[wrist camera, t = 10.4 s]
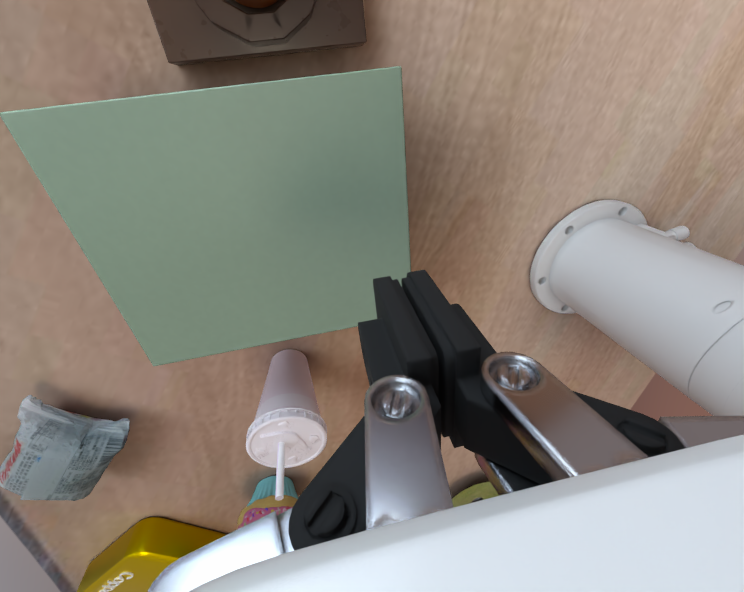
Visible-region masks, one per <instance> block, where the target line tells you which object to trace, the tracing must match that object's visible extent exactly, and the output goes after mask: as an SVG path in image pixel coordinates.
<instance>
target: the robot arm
mask: <svg viewBox="0 0 744 592" xmlns="http://www.w3.org/2000/svg"><path fill="white" fill-rule="evenodd" d="M689 235H690V231H689V229H688V228H687V227H685V226H678V227H675V228H672V229H669V230H667V231H666V232H664V231H661V230H658V229H655V228H653V227H650V226H647V221H646V219H645V217H644V215H643V213H642V212H641V211H640V210H639V209H638V208H637V207H635V206H633V205H631V204H629V203H626V202H622V201H619V200H601V201H595V202H593V203H590V204H587V205H584V206H582V207H581V208H579V209H577V210H575V211H573V212H572V213H570V214H569V215H568V216H566V217H565V218H564V219H562V220H561V221H560V222H559V223H558V224H557V225H556V226H555V227H554V228H553V229H552V230H551V231H550V232H549V234H548V235H547V236H546V237H545V239H544V240H543V242H542V243H541V245H540V247H539V248H538V250H537V252H536V255H535V257H534V260H533V262H532V267H531V271H530V285H531V290H532V292H533V294H534V296H535V298H536V299H537V300H538V301H539V302H540V303H541V304H542V305H543V306H545V307H546V308H547V309H549V310H551V311H553V312H556V313H561V314H569V313H578V314H579V315H581V316H582V317H583V318H585V319H586V320H587V321H589V322H590V323H591V324H593V325H594V326H595V327H596V328H598V329H599V330H600V331H602V332H603V333H604V334H606V335H607V336H608V337H610V338H611V339H612V340H614V341H615V342H616V343H618V344H619V345H620V346H621V347H623V348H624V349H625V350H627V351H628V352H629V353H631V354H632V355H633V356H635V357H636V358H637V359H639V360H640V361H641V362H643V363H644V364H645V365H646V366H648V367H649V368H650V369H652V370H653V371H654V372H656V373H657V374H658V375H660V376H661V377H662V378H664V379H665V380H666V381H668V382H669V383H670V384H672V385H673V386H674V387H675V388H677V389H678V390H679V391H681V392H682V393H683V394H685V395H686V396H687V397H689V398H690V399H691V400H692V401H694V402H695V403H697V404H698V405H699V406H701V407H702V408H703V409H705V410H706V411H708V412H709V413H710V414H712V415H713V416H685V417H660V418H659V420H658V421H656V420H655V419H653V418H650V417H648V416H646V415H643V414H641V413H638V412H635V411H632V410H629V409H626V408H623V407H620V406H617V405H614V404H611V403H608V402H604V401H601V400H598V399H595V398H592V397H589V396H586V395H583V394H580V393H577V392H574V391H571V390H570V389H569V388H568V387H567V386H565V385H564V384H563V383H562V382H561V381H560V380H558V379H557V378H556V377H555V376H554V375H553V374H551V373H550V372H549V371H548V370H547V369H546V368H544V367H543V366H542V365H541V364H540V363H538V362H537V361H536V360H534V359H533V358H531V357H528V356H526V355H524V354H520V353H515V352H500V353H496V351H495V350H494V349H493V348H492V346H491V345H490V344H489V342H488V341H487V340H486V338H485V337H484V336H483V335H482V333H481V332H480V331H479V329H478V328H477V327H476V326H475V324H474V323H473V322H472V320H471V319H470V318H469V316H468V315H467V314H466V313H465V311H464V310H463V309H462V307H461V306H460V305H459V304H452V305H450V304H449V302H448V301H447V299H446V298H445V297H444V295H443V294H442V293H441V291H440V290H439V288H438V287H437V286H436V284H435V283H434V282H433V280H432V279H431V277H430V276H429V275H428V273H427V272H426V271H425V270H420V271H414V272H409V273H407V277H406V278H402V280H401V284H402V287H401V285H400V283H399V281H398V279H395V280H392V278H391V277H390V276H387V277H381V278H375V279H373V288H374V296H375V304H376V313H377V319H374V320H369V321H363V322H358V329H359V335H360V342H361V347H362V353H363V358H364V363H365V367H366V372H367V376H368V380H369V384H370V387H369V389H368V390H367V392H366V395H365V401H364V406H365V416H364V417H363V418H362V419H361V421H360V422H359V423H358V424H357V426H356V427H355V428H354V429H353V430H352V432H351V433H350V434H349V435H348V437H347V438H346V439H345V440H344V442H343V443H342V444H341V445H340V447H339V448H338V449H337V450H336V452H335V453H334V454H333V455H332V457H331V458H330V459H329V460H328V462H327V463H326V464H325V465H324V467H323V468H322V469H321V470H320V472H319V473H318V474H317V475H316V476H315V478H314V479H313V480H312V481H311V483H310V484H309V485H308V486H307V488H306V489H305V490H304V491H303V493H302V494H301V495H300V496H299V498H298V500H297V501H296V503H295V505H294V506H293V508H291V509H289V510H287V511H285V512H283V513H281V514H279V515H277V513H276V511H274V512H272V513H270V514H268V515H266V516H264V517H262V518H260V519H258V520H256V521H254V522H252V523H250V524H248V525H245V526H243V527H241V528H239V529H237V530H235V531H233V532H231V533H229V534H227V535H225V536H223V537H221V538H219V539H217V540H215V541H213V542H211V543H209V544H207V545H205V546H203V547H201V548H199V549H197V550H195V551H193V552H191V553H189V554H187V555H185V556H183V557H181V558H179V559H178V560H176V561H175V562H173V563H172V564H170V565H169V566H167V567H166V568H165V569H164V570H163V571H162V572H161V573H160V575H159V576H158V577H157V578H156V579H155V580H154V581H153V583H152V584H151V586H150V588H149V590H148V591H147V592H744V265H741V264H738V263H736V262H733V261H730V260H727V259H725V258H722V257H719V256H717V255H714V254H711V253H709V252H706V251H703V250H701V249H698V248H696V246H695V245H694V244H692V243H691V242H683V243H682V242H679V241H680V240H683V239H686V238H688V237H689ZM441 434H442V436H443V437H447V436H449V437H450V439H451V442H452V444H453V446H454V448H456V447H460V446H464V448H466V449H468V450H470V451H472V452H474V453H475V458H476V460H477V462H478V464H479V466H480V467H481V469H482V470H483V472H484V473H485V475H486V476H487V478H488V479H489V481H490V483H491V484H492V486H493V487H494V489H495V490H496V492H497V493H498V495H499V496H496V497H492V498H488V499H485V500H481V501H477V502H473V503H469V504H465V505H462V506H458V507H454V508H453V503H452V499H451V494H450V490H449V485H448V481H447V477H446V472H445V468H444V463H443V459H442V455H441Z"/></svg>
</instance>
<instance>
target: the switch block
mask: <svg viewBox="0 0 744 592" xmlns="http://www.w3.org/2000/svg"><path fill="white" fill-rule="evenodd" d="M147 2H148V5H149V8H150V11H151V14H152V16H153V19H154V22H155V25H156V28H157V31H158V34H159V36H160V39H161V42H162V45H163V48H164V51H165V54H166V56H167V59H168V62H169V63H171V64H175V65H185V64H194V63H203V62H213V61H222V60H232V59H241V58H250V57H260V56H269V55H279V54H288V53H297V52H307V51H316V50H325V49H335V48H344V47H354V46H362V45H363V44H365V43H366V30H365V19H364V8H363V0H278V1H277V2H275V3H274V4H272V5H270V6H267V7H263V8H252V7H247V6H244V5H242V4H240V3H238V2H236V1H235V0H147Z"/></svg>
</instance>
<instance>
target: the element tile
mask: <svg viewBox="0 0 744 592" xmlns="http://www.w3.org/2000/svg"><path fill="white" fill-rule="evenodd" d="M225 535H227V534H223V533H220V532H216V531H212V530H208V529H204V528H200V527H196V526H193V525H189V524H185V523H181V522H177V521H173V520H169V519H166V518H161V517H149V518H145V519H143V520H141V521H139V522H138V523H136V524H135V525H134V526H133V527H132V528H130V529H129V530H128V531H127V532H126V533H125V534H123V535H122V536H121V537H120V538H119V539H118V540H116V541H115V542H114V543H113V544H112V545H111V546H109V547H108V548H107V549H106V550H105V551H104V552H102V553H101V554H100V555H99V556H98V557H97V558H95V559H94V560H93V561H92V562H91V563H90V564H89V566H88V567H87V570H86V572H85V574H84V577H83V579H82V581H81V583H80V586H79V588H78V590H77V592H147V591H148V590H149V588H150V586H151V584H152V583H153V581H154V580H155V579H156V578H157V577H158V576H159V575H160V573H161V572H162V571H163V570H164V569H165V568H166V567H167V566H169V565H170V564H172V563H173V562H175V561H176V560H178V559H179V558H181V557H183V556H185V555H187V554H189V553H191V552H193V551H195V550H197V549H199V548H201V547H203V546H205V545H207V544H209V543H211V542H213V541H215V540H217V539H219V538H221V537H223V536H225Z"/></svg>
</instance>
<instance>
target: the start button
mask: <svg viewBox="0 0 744 592" xmlns="http://www.w3.org/2000/svg"><path fill="white" fill-rule="evenodd" d="M235 1H236V2H238V3H240V4H242V5H244V6H247V7H252V8H263V7H267V6H270V5H272V4H274V3H275V2H277V1H278V0H235Z"/></svg>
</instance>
